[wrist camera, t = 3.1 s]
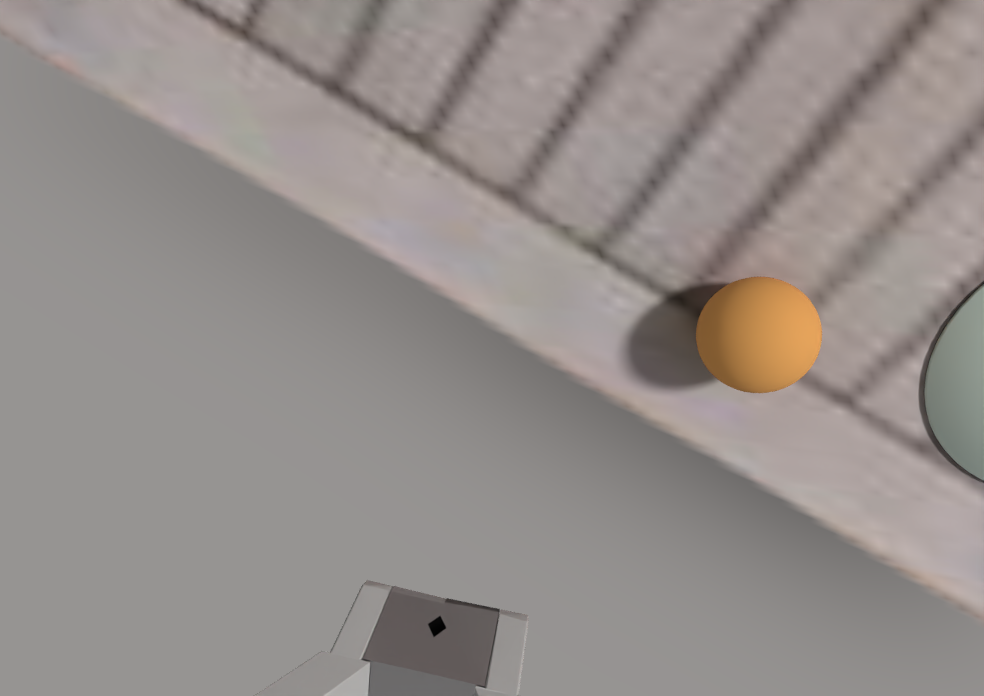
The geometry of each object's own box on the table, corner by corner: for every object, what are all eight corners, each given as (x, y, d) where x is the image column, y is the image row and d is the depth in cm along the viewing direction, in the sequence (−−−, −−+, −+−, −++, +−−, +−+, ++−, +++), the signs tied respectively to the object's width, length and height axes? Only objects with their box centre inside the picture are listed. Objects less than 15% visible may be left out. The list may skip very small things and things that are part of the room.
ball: (698, 259, 29) (716, 292, 24) (813, 267, 28) (854, 303, 24) (681, 359, 31) (695, 407, 26) (789, 369, 30) (822, 420, 26)
